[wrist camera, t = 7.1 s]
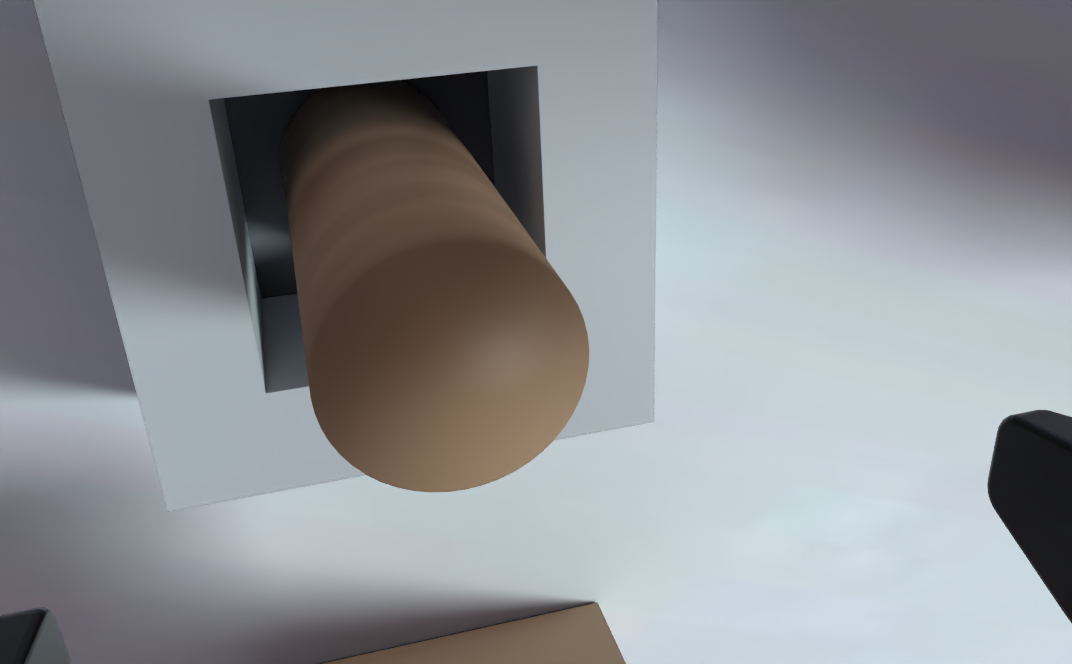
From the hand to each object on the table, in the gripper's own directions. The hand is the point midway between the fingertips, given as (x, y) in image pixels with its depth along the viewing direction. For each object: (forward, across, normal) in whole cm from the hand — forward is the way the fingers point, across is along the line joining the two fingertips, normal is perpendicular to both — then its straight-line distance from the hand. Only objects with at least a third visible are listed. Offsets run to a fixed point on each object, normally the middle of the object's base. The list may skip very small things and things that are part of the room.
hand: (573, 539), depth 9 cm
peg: (+12, 0, 0) cm, 12 cm away
